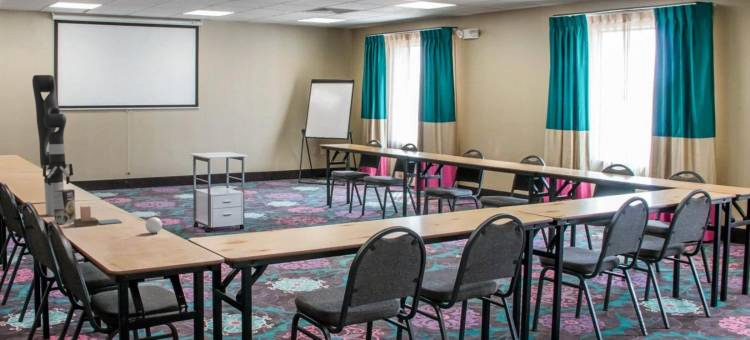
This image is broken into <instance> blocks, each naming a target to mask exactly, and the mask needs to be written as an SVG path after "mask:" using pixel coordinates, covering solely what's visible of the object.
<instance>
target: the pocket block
mask: <svg viewBox="0 0 750 340" xmlns="http://www.w3.org/2000/svg"><path fill="white" fill-rule="evenodd" d="M98 221H99V219H97V218H96V217H94V216H93V217H92V216H91V220H85V221H81V217H80V218H76V219H74V222H73V225H74V226H76V227H77V228H81V227H92V226H99V223H98Z"/></svg>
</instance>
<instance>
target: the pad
mask: <svg viewBox="0 0 750 340" xmlns="http://www.w3.org/2000/svg"><path fill="white" fill-rule="evenodd" d="M114 224H115V225H116V224H123V221H121V220H119V219H118V218H114V219H113V218H112V219H104V220H98V225H101V226H106V225H114Z"/></svg>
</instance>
